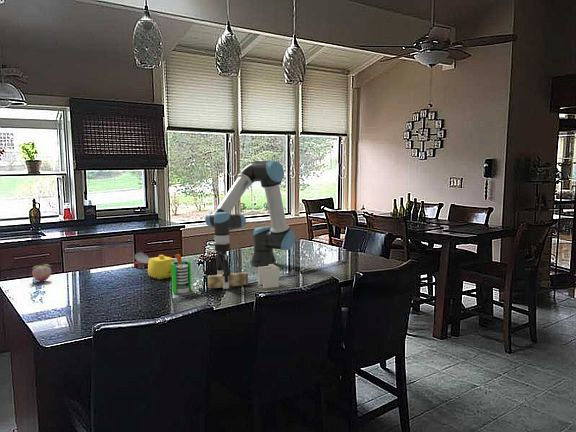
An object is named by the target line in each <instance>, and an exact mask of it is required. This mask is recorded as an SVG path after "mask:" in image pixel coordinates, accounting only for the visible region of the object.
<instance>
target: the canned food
mask: <svg viewBox="0 0 576 432" xmlns="http://www.w3.org/2000/svg"><path fill="white" fill-rule="evenodd" d="M150 258H151V257H149V256H148V255H147V254H145V253H144V252H140V251H139V252H136V254H135V255H134V259H135V260H136V261H134V262H133V268H134V267H137V268H136V269H144V268H143V267H148V262H149V259H150Z"/></svg>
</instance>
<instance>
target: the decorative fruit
mask: <svg viewBox="0 0 576 432" xmlns="http://www.w3.org/2000/svg"><path fill="white" fill-rule="evenodd" d="M31 270H32V272H31V273H32V277H33V278H34V280H35V281H39V282H45V281H46V280H48V279H49V278H50V276H51V275H52V269H51V265H50V264H47V263H45V264H38V265H34V266H33V267H32V268H31Z"/></svg>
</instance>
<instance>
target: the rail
mask: <svg viewBox="0 0 576 432" xmlns="http://www.w3.org/2000/svg"><path fill="white" fill-rule="evenodd" d="M248 273H249V272H246V271H241V272H232V273H231V272H230V275H229V287H237V286H238V287H239V286H244V285H245V286H246V285H248V284H249V281H248V280H249V279H248V278H249V276H248ZM222 275H224V274H220V275H217V274H211V275H207V288H208V289H218V288H223V276H222Z"/></svg>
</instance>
